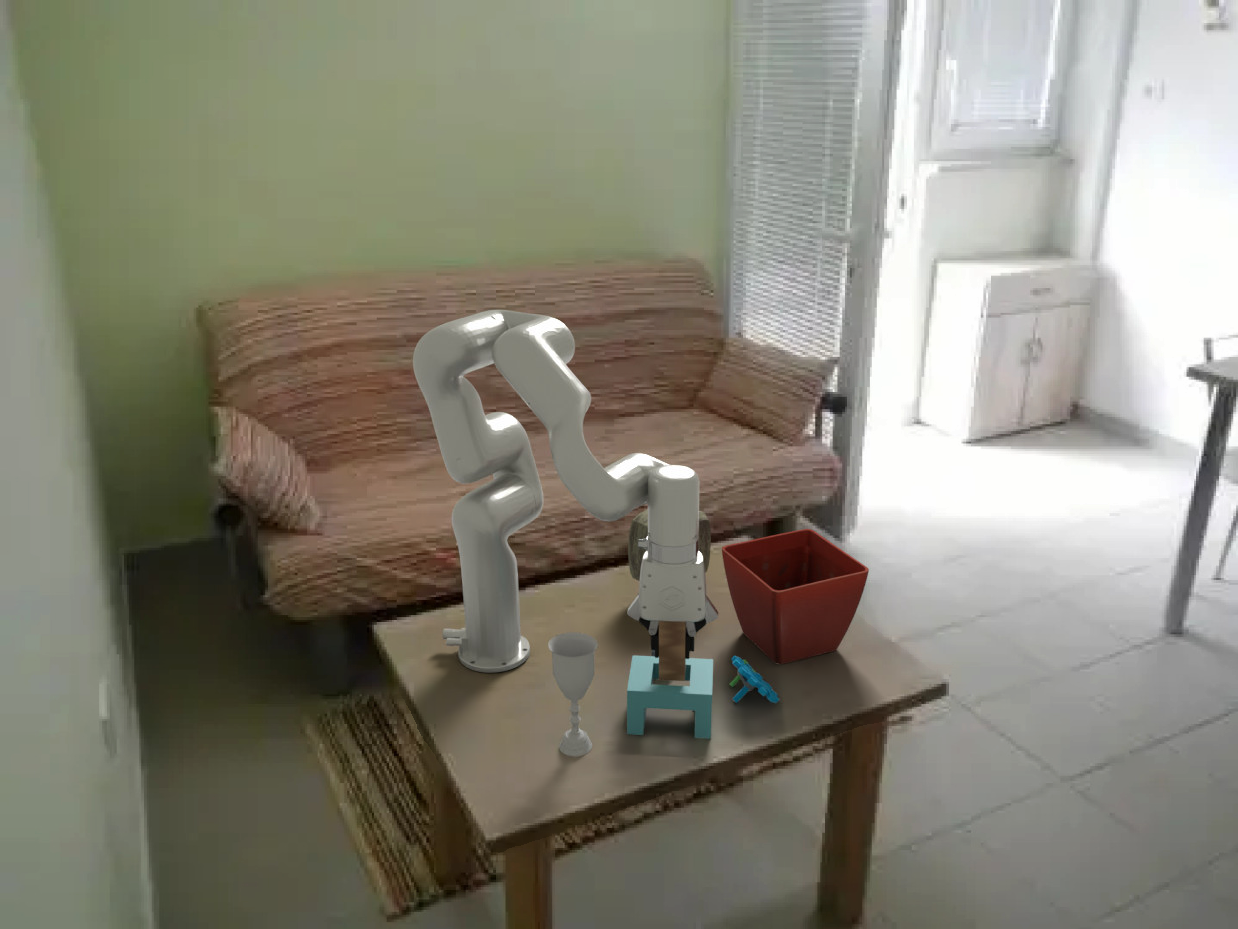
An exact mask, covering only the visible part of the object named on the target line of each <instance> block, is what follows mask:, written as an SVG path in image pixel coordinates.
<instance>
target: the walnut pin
mask: <svg viewBox="0 0 1238 929" xmlns="http://www.w3.org/2000/svg"><path fill="white" fill-rule="evenodd" d="M658 625H659V679H658V681H670V682H671V681H673V682H676V681H678V682H686V681H685V669H686V658H685V634H686V628H687V625H686V622H668V621H659V622H658Z"/></svg>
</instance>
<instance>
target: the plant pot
mask: <svg viewBox="0 0 1238 929" xmlns="http://www.w3.org/2000/svg"><path fill="white" fill-rule="evenodd" d="M721 555H722V561H723V567H724V571H725V577H726V581H727V587H728V590H729V595H730V598H731V601H732V604H733V608H734V611H735V614H736V617H737V620H738V622H739V625H740V628H741V631H742V633H743V635H745V636H746V638H748V639H749V640H750V641H751V642H752V643H753V644H754V645H755V646H756V648H758V649H760V651H762V652H763V653H764V654H765V655H766V656H767V657H768V658H769V659H770V660H771V661H772V662H774V663H775V664H777V665H783V664H787V663H791V662H797V661H800V660H803V659H808V658H810V657H811V658H812V657H815V656H819V655H823V654H827V653H831V652H835V651H837V649H838V648H839V646H840V645H841V644H842V641H843V640H844V638H845V636H846V634H847V632H848V631H849V628H850V626H851V624H852V622H853V620H854V617H855V615H856V613H857V611H858V607H859V605H860V602H861V600H862V599H861V598H862V597H863V596H862V595H863V593H864V590H865V586H866V583H867V581H868V576H869V570H870V569H869V567H867V566H866V565H864V563H862V562H860V561H859V560H857V559H856V558H855V557H853V556H852V555H850V554H848V553H847V552H845V551H844V550H843V549H841V548H839V547H838V546H837V545H835V544H834V543H833V542H831V541H829V540H828V539H826V538H825V537H823V535H821V534H819V532H816V531H815V530H814V529H811V528H804V529H798V530H797V529H796V530H794V531H788V532H783V533H779V534H774V535H769V536H764V537H759V538H755V539H751V540H746V541H741V542H735V543H731V544H726V545H724V546H722V547H721Z"/></svg>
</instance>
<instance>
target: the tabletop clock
mask: <svg viewBox="0 0 1238 929" xmlns="http://www.w3.org/2000/svg"><path fill="white" fill-rule="evenodd" d="M711 532H712V530H711V524H710V521H709V519H708V517H707V515H706V513H705V512H703V511H701V510H699V533H698V551H699V552H700V553H701V554H702V557H703V561H704V567H705V574H706V572H708V569H709V566H710V559H711V545H712V544H711V542H712V539H711ZM646 536H648V508H647V509H645V510H644V511H641V512H640V513H638V514H637V515H636V516H635V517H634V518H632V520H631V524H630V527H629V533H628V546H627V553H628V554H627V555H628V556H627V557H628V566H629V567H628V568H629V571H630V572H629V573H630V576H631V578H632V579H633V580H636V581H638V582H640V571H641V564H642V559H643V556H644V554H645V552H646V549H643V548H638V540H639V539H644V538H646ZM638 595H639V592H638V593H637V596H638Z"/></svg>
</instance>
